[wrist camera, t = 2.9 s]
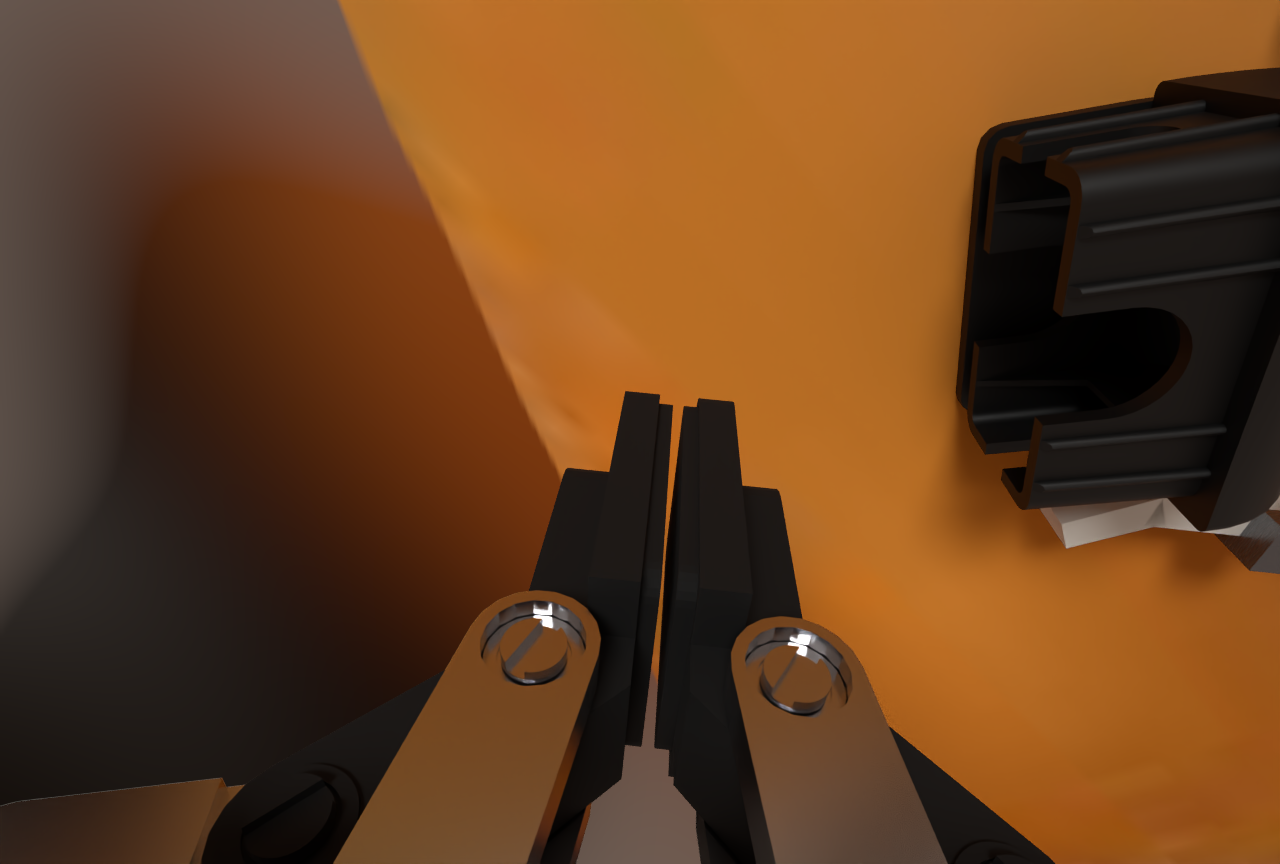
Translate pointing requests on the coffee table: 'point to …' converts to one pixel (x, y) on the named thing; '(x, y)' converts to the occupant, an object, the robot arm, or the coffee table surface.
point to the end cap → (1132, 301)
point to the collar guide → (1258, 543)
